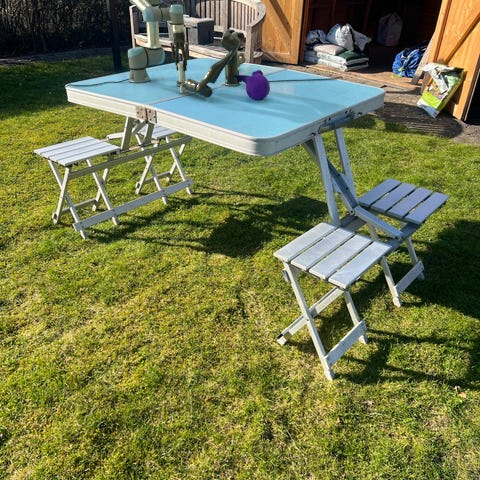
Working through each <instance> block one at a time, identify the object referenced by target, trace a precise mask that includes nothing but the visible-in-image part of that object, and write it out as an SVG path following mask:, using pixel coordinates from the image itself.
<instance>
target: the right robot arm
mask: <svg viewBox="0 0 480 480" xmlns="http://www.w3.org/2000/svg"><path fill="white" fill-rule="evenodd" d="M240 44H241V40H240V39H239V38H238V35H237V34H236V33H231V32H224V34H223V35H222V37H221V39H220V42H219V45H220V47H221V48H222V49H224V50H225V51H227V52H228V53H226V54H225V55H224V57H223V58H222V59H219V60H218V61H216V62H215V63H213V64H212V65H211V66H210V68H209V69H208V71H207V73H206V75H205V76H204V77H203V78H202V79H201V80H200V81H197V80H195V79H192V78H188V79H187V78H186V81H179V80H176V86H177V88H180V86H181V87H185V89H186V90H187V92H190V93H193V94H197V95H200V96H201V97H203V98H205V99H209V98H211V97H212V96H213V93H214V90H213V88H212V87H211V86H210V85H208V84H215V83H216V82H217V81H218V79H219V77H220V76H221V74H222V72H223V71H224V81H225V86H227V87H236V86H239V85H240V83H243V81H241V80H239V79H237V78H235V77H234V76H233V75H240V70H239V68H238V54H239V51H238V49H239V47H240ZM337 79H342V80H343V79H344V78H343V76H337V77H332V78H331V77H330V78H311V79H309V78H307V79H281V80H279V79H278V80H268V81H269V83H274V82H275V83H277V82H306V81H307V82H308V81H310V82H311V81H330V80H337Z"/></svg>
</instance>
